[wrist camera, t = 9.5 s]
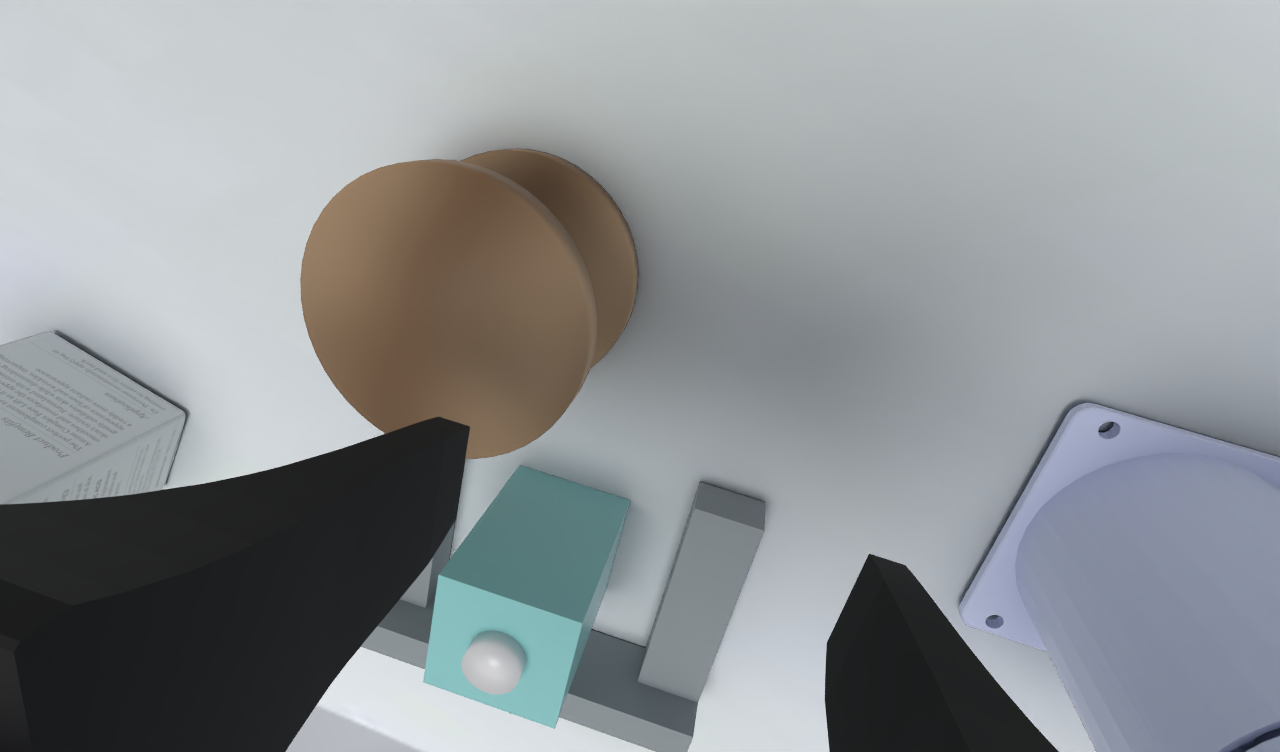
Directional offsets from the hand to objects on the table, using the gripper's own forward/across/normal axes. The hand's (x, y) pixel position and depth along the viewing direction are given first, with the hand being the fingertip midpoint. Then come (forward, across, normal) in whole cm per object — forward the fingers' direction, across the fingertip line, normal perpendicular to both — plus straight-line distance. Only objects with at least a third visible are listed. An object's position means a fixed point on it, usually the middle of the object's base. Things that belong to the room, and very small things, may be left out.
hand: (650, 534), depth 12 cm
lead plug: (+10, +3, +8) cm, 13 cm away
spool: (+9, +6, -1) cm, 11 cm away
